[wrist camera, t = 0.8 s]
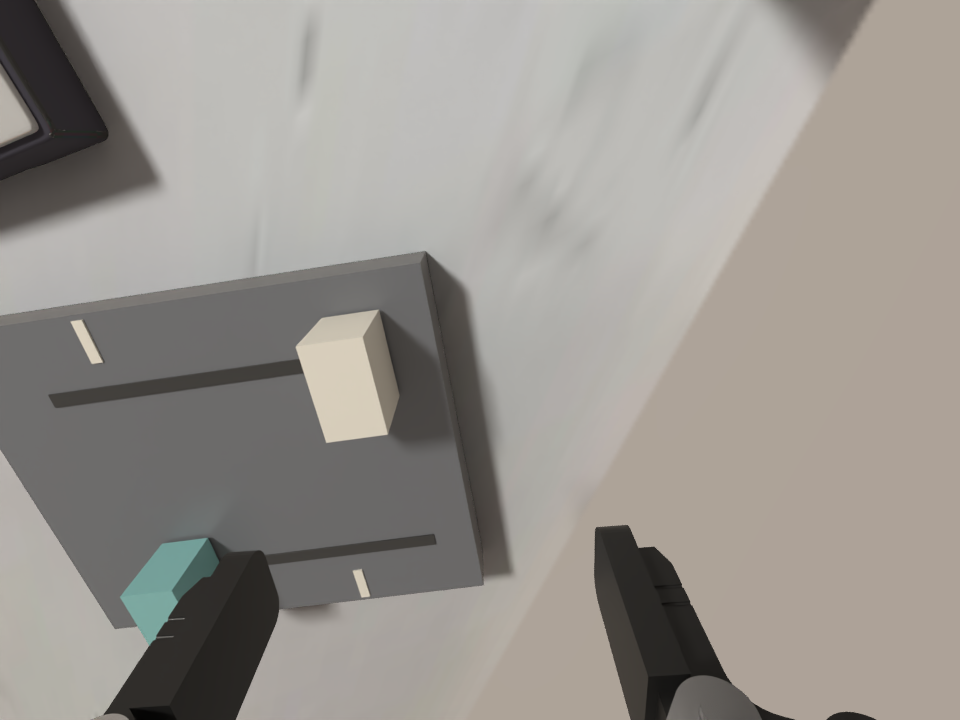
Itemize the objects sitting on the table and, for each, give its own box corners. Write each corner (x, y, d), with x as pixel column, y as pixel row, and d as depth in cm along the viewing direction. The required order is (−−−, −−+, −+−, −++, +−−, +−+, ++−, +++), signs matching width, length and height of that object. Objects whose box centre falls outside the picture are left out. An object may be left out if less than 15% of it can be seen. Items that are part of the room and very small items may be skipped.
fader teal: (207, 537, 31) (171, 590, 27) (235, 595, 32) (204, 651, 29) (162, 543, 31) (119, 597, 27) (192, 600, 33) (156, 657, 29)
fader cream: (379, 309, 25) (362, 337, 21) (399, 395, 27) (387, 434, 23) (321, 317, 25) (295, 346, 21) (346, 403, 27) (326, 442, 23)
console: (425, 251, 27) (419, 263, 24) (482, 551, 35) (483, 586, 33) (-18, 318, 28) (-74, 337, 25) (141, 593, 37) (114, 630, 34)
